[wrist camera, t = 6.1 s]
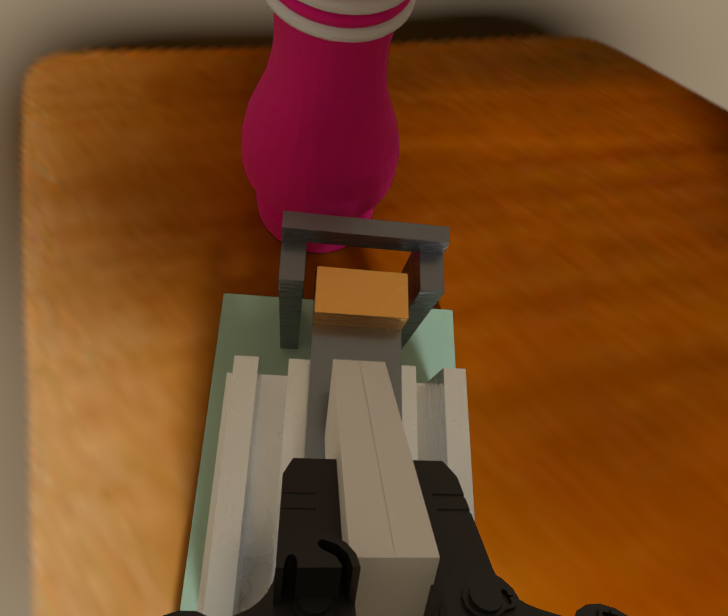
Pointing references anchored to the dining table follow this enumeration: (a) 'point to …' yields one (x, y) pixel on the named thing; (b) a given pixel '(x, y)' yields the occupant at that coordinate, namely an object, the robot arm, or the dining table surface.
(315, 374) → the grey bar
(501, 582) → the robot arm
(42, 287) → the dining table surface
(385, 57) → the pepper mill
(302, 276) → the grey blocky device
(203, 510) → the mainboard
